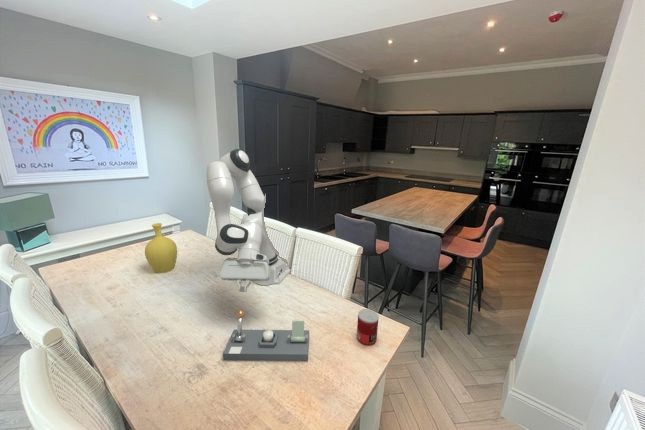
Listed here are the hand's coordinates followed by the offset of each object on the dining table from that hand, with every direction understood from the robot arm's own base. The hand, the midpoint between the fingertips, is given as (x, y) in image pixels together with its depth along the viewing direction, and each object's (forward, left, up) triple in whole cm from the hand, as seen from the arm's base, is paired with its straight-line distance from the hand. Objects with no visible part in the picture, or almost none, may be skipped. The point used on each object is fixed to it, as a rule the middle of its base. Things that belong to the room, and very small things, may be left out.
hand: (242, 291), depth 104 cm
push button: (+4, +16, -13) cm, 21 cm away
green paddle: (-2, +26, -13) cm, 29 cm away
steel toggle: (+9, +7, -13) cm, 17 cm away
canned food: (-20, +46, -17) cm, 53 cm away
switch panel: (+4, +16, -17) cm, 24 cm away
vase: (-11, -77, -17) cm, 80 cm away
